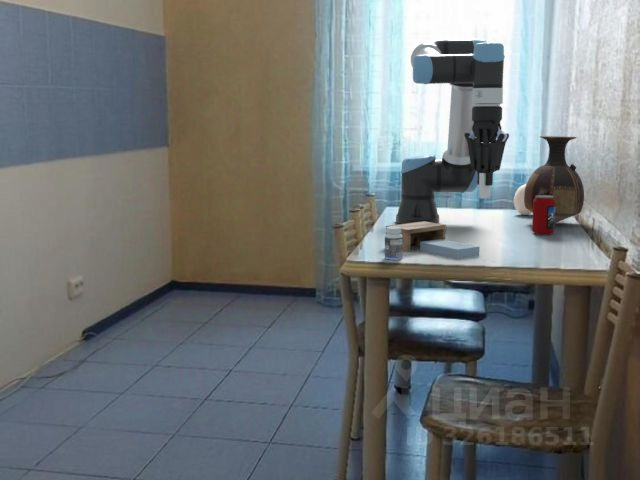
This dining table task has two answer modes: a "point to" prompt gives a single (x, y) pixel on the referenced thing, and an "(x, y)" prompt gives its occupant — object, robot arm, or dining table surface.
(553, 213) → the beverage can
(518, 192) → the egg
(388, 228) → the pill bottle
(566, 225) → the dining table surface
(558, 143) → the vase
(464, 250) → the panel
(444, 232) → the shelf
